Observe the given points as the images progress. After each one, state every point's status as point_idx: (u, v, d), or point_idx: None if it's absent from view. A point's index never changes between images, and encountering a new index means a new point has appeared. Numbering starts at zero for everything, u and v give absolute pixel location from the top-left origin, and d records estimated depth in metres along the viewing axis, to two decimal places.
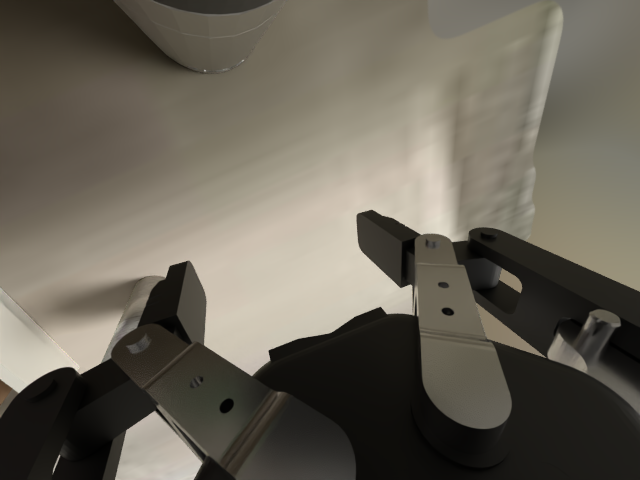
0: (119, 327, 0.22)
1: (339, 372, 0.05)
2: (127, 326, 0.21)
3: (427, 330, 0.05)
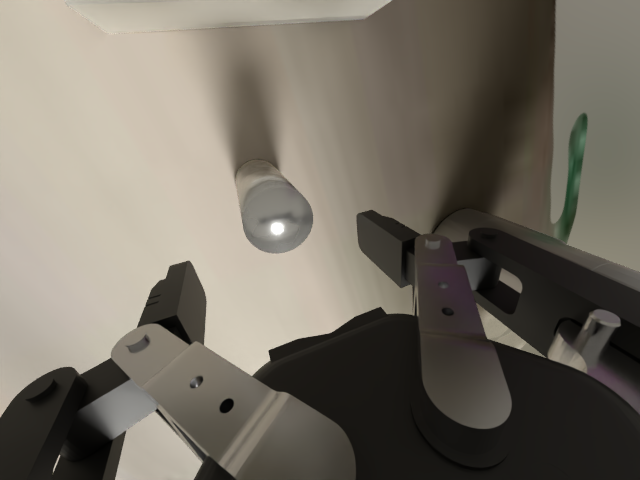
0: None
1: (339, 372, 0.05)
2: None
3: (427, 330, 0.05)
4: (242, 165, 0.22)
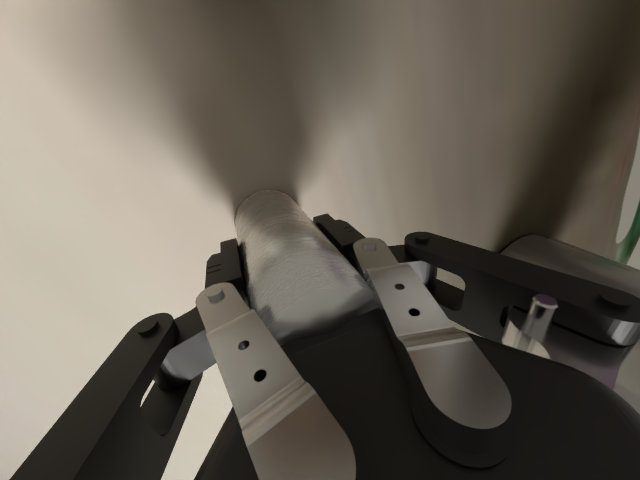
0: None
1: (339, 372, 0.05)
2: None
3: (427, 330, 0.05)
4: (245, 200, 0.14)
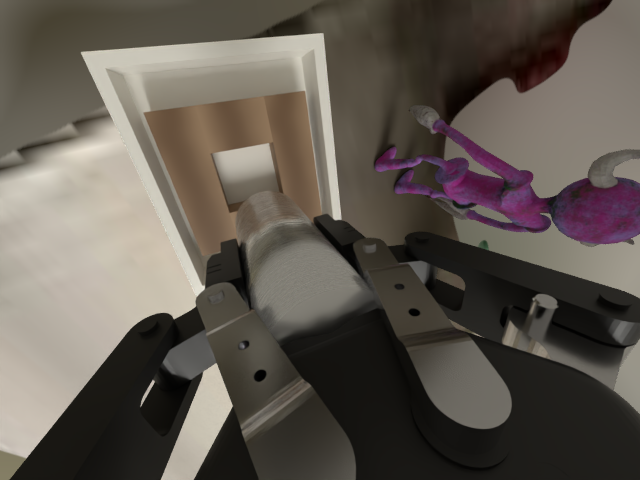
0: None
1: (339, 372, 0.05)
2: None
3: (427, 330, 0.05)
4: (245, 201, 0.14)
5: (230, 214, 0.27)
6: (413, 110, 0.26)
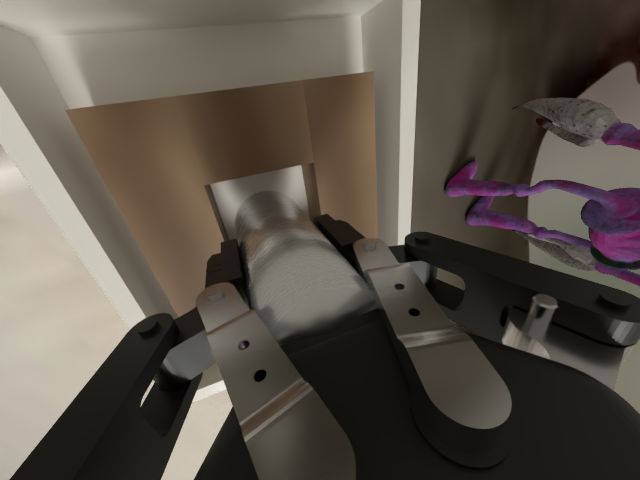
0: None
1: (339, 372, 0.05)
2: None
3: (427, 330, 0.05)
4: (245, 201, 0.14)
5: None
6: (548, 106, 0.15)
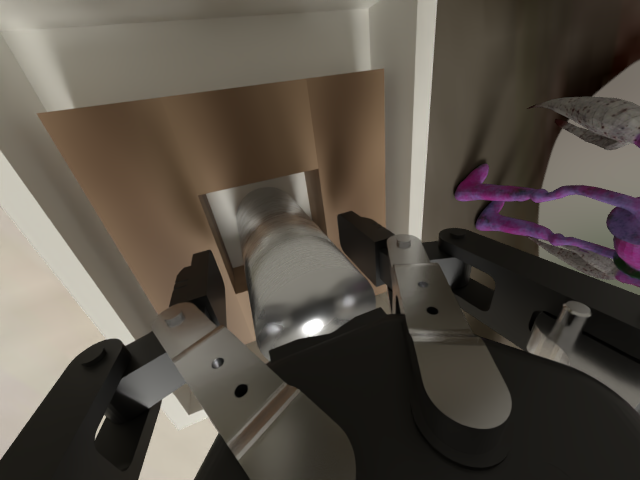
0: None
1: (339, 372, 0.05)
2: None
3: (427, 330, 0.05)
4: (245, 196, 0.15)
5: (237, 296, 0.15)
6: (571, 106, 0.14)
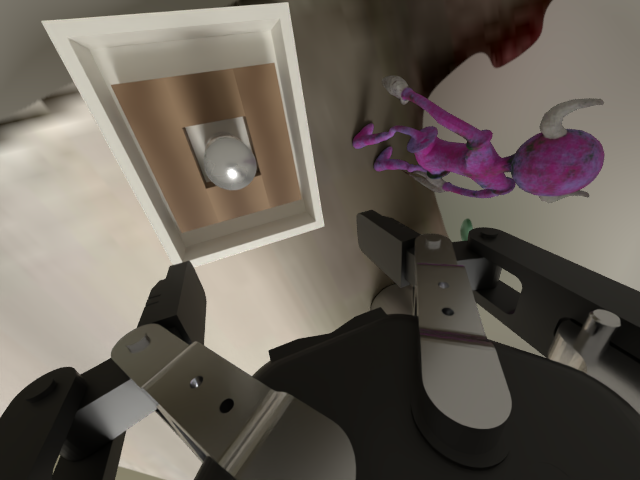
0: None
1: (339, 372, 0.05)
2: None
3: (427, 330, 0.05)
4: (210, 136, 0.27)
5: (206, 190, 0.27)
6: (384, 81, 0.26)
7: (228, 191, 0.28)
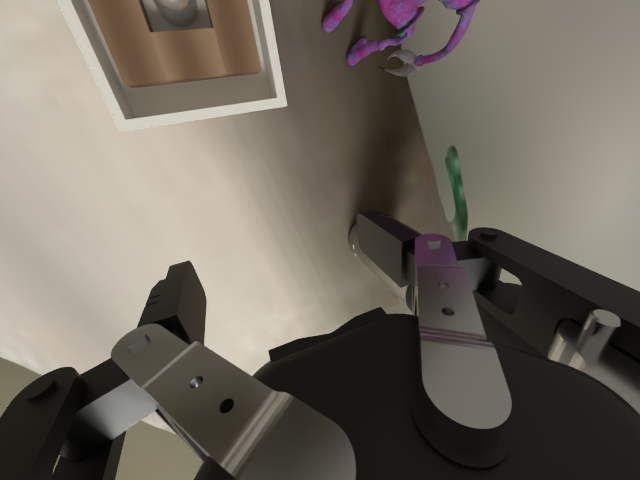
0: None
1: (339, 372, 0.05)
2: None
3: (427, 330, 0.05)
4: None
5: (151, 34, 0.25)
6: None
7: (176, 41, 0.25)
